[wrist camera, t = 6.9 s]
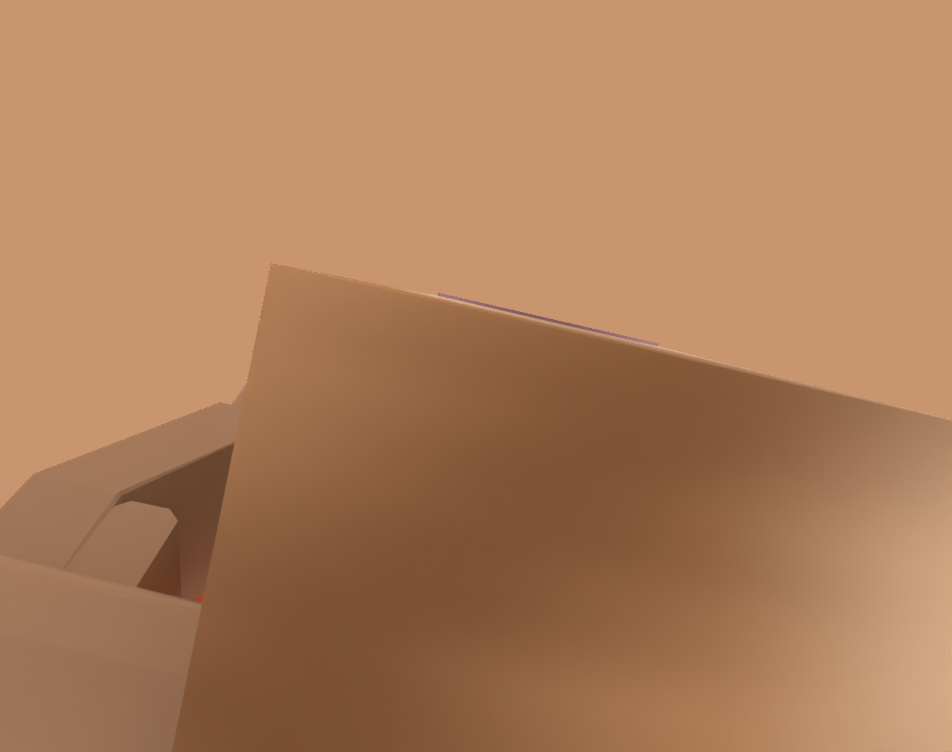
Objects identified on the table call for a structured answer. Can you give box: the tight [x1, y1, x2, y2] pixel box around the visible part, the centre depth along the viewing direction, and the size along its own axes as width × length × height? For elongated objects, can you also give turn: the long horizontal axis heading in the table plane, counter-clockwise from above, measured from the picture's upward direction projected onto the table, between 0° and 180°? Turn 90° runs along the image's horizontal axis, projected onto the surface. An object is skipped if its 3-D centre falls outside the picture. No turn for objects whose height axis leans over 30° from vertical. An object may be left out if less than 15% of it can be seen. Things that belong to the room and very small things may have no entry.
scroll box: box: [172, 264, 952, 752], centre depth 12 cm, size 4×17×4 cm, turn 178°
